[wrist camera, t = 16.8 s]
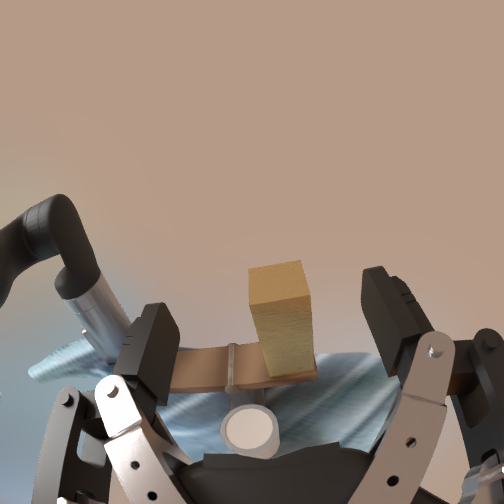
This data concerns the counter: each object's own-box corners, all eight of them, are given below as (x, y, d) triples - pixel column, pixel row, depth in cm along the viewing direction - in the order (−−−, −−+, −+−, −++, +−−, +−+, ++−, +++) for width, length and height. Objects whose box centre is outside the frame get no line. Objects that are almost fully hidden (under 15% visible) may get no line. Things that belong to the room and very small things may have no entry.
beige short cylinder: (241, 471, 26) (227, 460, 23) (229, 430, 32) (214, 412, 28) (291, 455, 27) (286, 442, 24) (275, 416, 33) (267, 396, 29)
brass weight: (307, 338, 32) (300, 260, 26) (314, 371, 28) (310, 294, 21) (267, 345, 32) (248, 269, 26) (270, 378, 28) (249, 304, 22)
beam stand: (263, 376, 39) (253, 346, 35) (266, 421, 33) (255, 397, 28) (232, 380, 40) (217, 350, 35) (231, 423, 33) (213, 400, 29)
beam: (309, 339, 34) (308, 331, 33) (318, 382, 28) (318, 375, 27) (166, 355, 35) (162, 349, 34) (158, 395, 30) (152, 390, 29)
